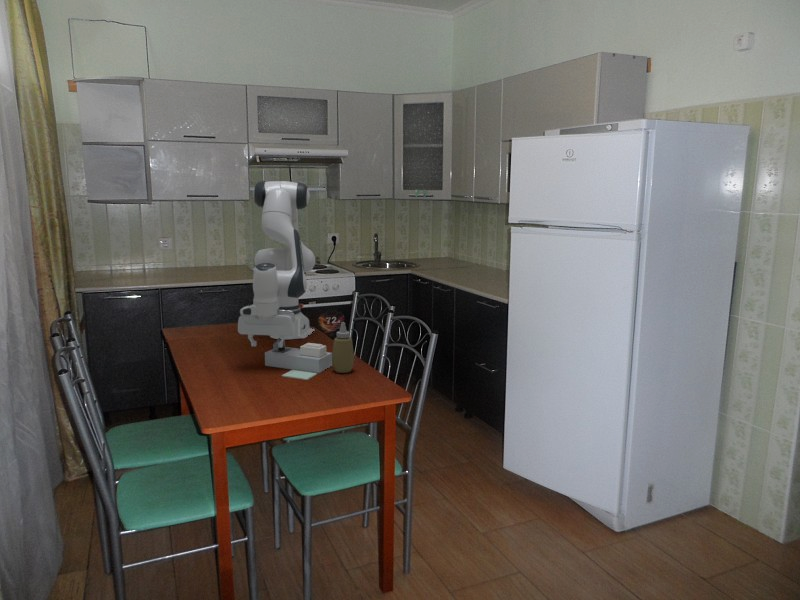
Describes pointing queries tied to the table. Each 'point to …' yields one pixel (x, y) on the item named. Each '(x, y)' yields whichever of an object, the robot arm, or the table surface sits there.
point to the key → (277, 345)
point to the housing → (297, 360)
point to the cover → (313, 349)
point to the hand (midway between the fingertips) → (266, 346)
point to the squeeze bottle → (343, 351)
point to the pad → (299, 374)
